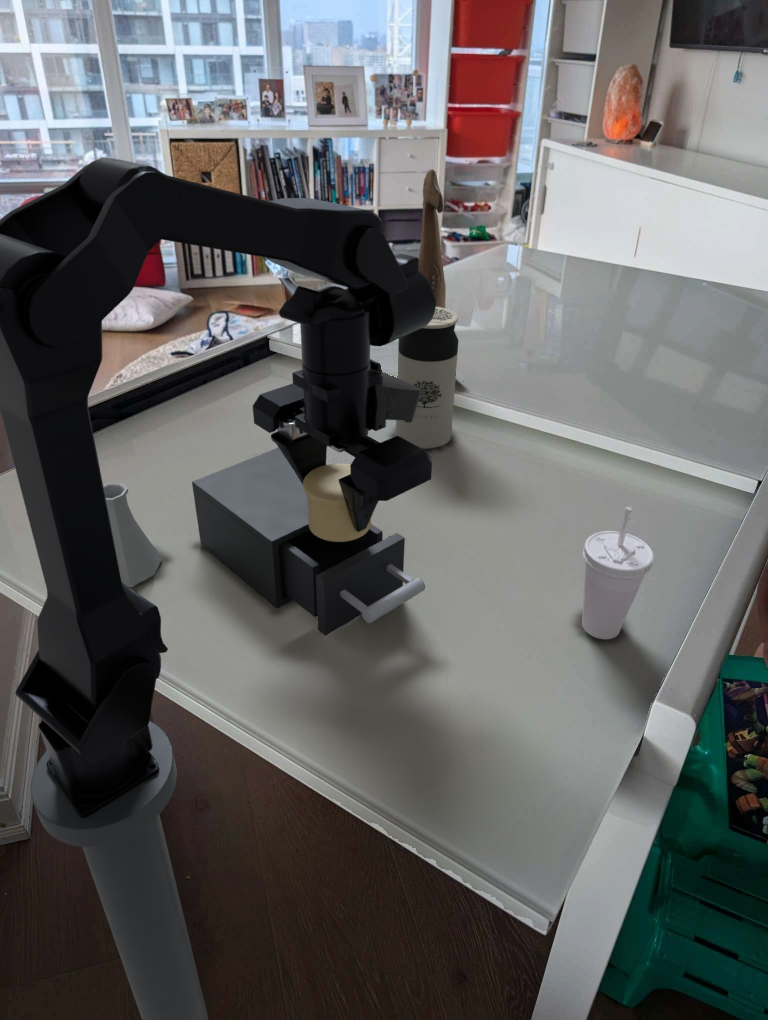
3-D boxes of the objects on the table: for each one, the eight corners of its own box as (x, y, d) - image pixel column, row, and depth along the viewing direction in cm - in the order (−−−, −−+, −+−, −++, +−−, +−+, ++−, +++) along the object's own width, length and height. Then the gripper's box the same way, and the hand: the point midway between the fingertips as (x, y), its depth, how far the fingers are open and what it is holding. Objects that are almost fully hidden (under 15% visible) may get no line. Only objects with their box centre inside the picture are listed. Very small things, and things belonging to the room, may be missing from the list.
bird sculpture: (404, 397, 120) (413, 180, 102) (375, 369, 129) (378, 165, 111) (466, 386, 124) (485, 175, 106) (433, 360, 133) (445, 161, 115)
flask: (77, 579, 81) (56, 500, 75) (121, 542, 87) (104, 466, 81) (133, 596, 79) (116, 517, 73) (174, 557, 84) (161, 481, 79)
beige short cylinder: (334, 552, 69) (333, 509, 66) (291, 521, 73) (288, 479, 70) (388, 525, 73) (389, 483, 70) (344, 497, 77) (343, 456, 74)
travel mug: (405, 420, 113) (410, 302, 103) (457, 429, 111) (467, 309, 101) (388, 444, 107) (391, 320, 97) (442, 454, 105) (451, 329, 95)
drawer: (435, 613, 76) (439, 559, 72) (357, 662, 70) (357, 607, 66) (321, 533, 87) (319, 483, 83) (245, 571, 81) (240, 518, 77)
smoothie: (635, 614, 78) (666, 500, 70) (631, 655, 73) (664, 538, 65) (572, 599, 80) (596, 487, 72) (564, 639, 75) (588, 523, 67)
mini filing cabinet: (361, 563, 84) (362, 498, 79) (276, 609, 78) (271, 541, 73) (283, 508, 93) (279, 447, 88) (200, 545, 86) (191, 481, 82)
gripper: (483, 371, 62) (468, 526, 71) (339, 311, 74) (342, 451, 83) (383, 410, 56) (380, 575, 65) (243, 338, 68) (256, 486, 76)
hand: (339, 514), depth 72 cm, fingers closed on beige short cylinder, 6 cm apart
